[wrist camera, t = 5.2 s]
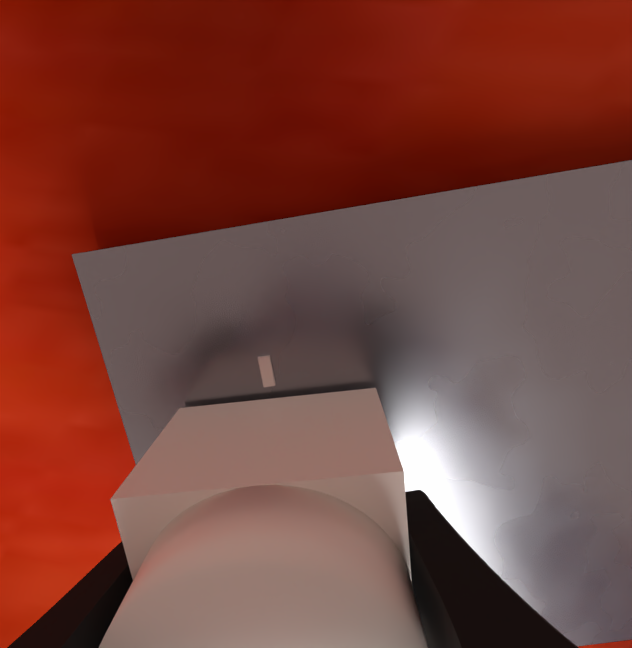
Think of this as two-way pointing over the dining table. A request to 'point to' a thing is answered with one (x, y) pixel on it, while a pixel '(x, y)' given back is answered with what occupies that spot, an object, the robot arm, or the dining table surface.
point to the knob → (268, 530)
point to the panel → (423, 358)
